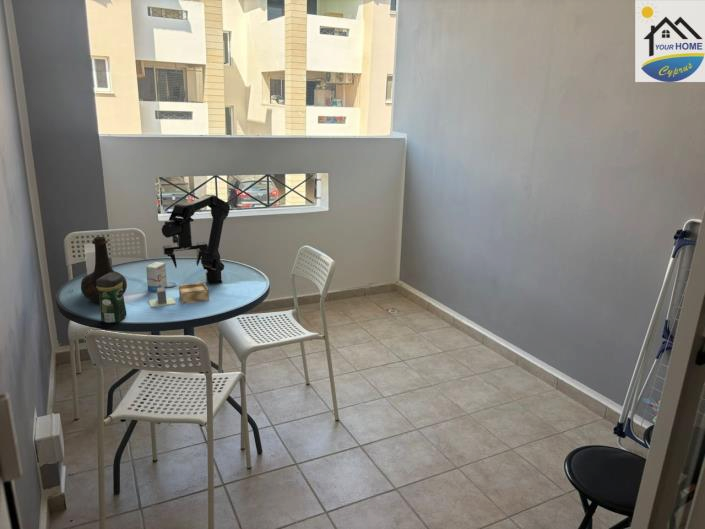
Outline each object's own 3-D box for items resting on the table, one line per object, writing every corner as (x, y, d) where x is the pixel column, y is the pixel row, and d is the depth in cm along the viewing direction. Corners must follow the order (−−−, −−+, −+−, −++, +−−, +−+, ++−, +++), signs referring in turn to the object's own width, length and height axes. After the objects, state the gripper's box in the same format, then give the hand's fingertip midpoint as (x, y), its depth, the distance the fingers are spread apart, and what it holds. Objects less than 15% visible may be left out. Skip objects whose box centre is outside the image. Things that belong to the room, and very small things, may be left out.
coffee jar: (111, 313, 209) (105, 270, 204) (129, 315, 209) (125, 271, 203) (97, 323, 200) (91, 278, 195) (117, 324, 199) (111, 279, 194)
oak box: (204, 293, 235) (203, 282, 233) (209, 300, 226) (208, 289, 225) (179, 296, 230) (178, 285, 228) (183, 304, 221) (182, 292, 220)
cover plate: (172, 298, 228) (171, 285, 226) (175, 304, 221) (174, 290, 219) (148, 302, 223) (147, 288, 221) (151, 308, 217) (149, 294, 215)
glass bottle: (79, 297, 225) (70, 235, 217) (122, 289, 236) (115, 230, 228) (87, 310, 212) (79, 245, 204) (133, 301, 222) (126, 239, 214)
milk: (104, 291, 233) (99, 244, 226) (89, 293, 231) (83, 245, 224) (104, 287, 238) (99, 241, 232) (90, 288, 236) (84, 242, 229)
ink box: (157, 292, 234) (155, 267, 231) (147, 291, 235) (145, 266, 231) (167, 286, 242) (165, 262, 239) (158, 285, 243) (155, 261, 239)
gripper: (202, 227, 237) (204, 259, 242) (159, 230, 229) (162, 264, 233) (207, 232, 227) (209, 266, 232) (162, 236, 219) (165, 271, 224)
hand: (186, 266), depth 231 cm, fingers open, 9 cm apart
